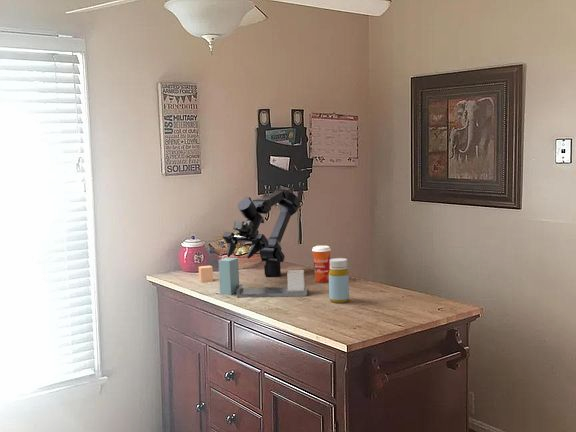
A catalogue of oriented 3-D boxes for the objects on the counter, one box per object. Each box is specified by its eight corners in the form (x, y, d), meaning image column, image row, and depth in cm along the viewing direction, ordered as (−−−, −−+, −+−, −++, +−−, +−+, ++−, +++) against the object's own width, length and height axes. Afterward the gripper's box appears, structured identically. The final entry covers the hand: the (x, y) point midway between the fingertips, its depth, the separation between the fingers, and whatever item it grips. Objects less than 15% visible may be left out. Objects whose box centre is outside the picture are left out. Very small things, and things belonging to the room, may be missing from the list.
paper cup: (310, 282, 278) (309, 248, 276) (316, 278, 285) (315, 244, 283) (328, 283, 275) (327, 248, 273) (334, 279, 282) (333, 245, 281)
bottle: (351, 299, 249) (350, 258, 247) (346, 303, 242) (345, 261, 240) (332, 298, 251) (331, 257, 249) (327, 302, 244) (326, 261, 242)
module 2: (228, 290, 269) (226, 257, 268) (239, 291, 267) (238, 258, 265) (219, 293, 264) (217, 260, 263) (230, 294, 262) (229, 261, 260)
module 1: (210, 279, 291) (210, 265, 290) (213, 281, 287) (212, 267, 286) (199, 280, 289) (198, 266, 288) (201, 282, 285) (200, 268, 284)
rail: (236, 297, 257) (235, 275, 256) (240, 291, 267) (239, 270, 266) (306, 296, 255) (305, 274, 254) (307, 289, 265) (306, 268, 264)
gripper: (224, 212, 277) (209, 243, 268) (263, 213, 268) (249, 246, 259) (235, 229, 284) (221, 260, 276) (274, 231, 275) (261, 263, 267)
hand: (237, 257), depth 270 cm, fingers open, 9 cm apart
